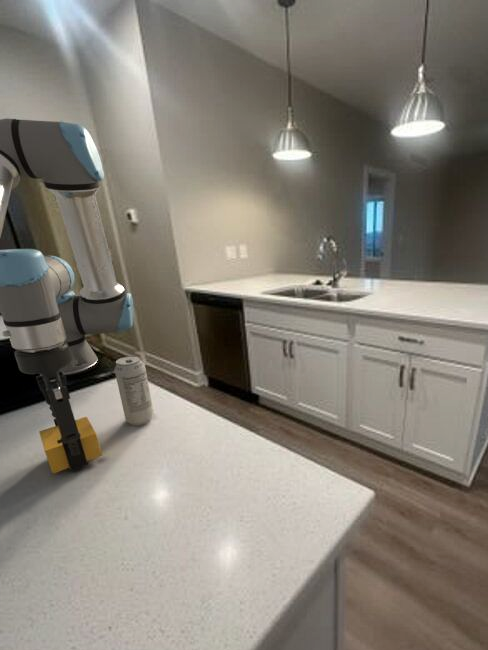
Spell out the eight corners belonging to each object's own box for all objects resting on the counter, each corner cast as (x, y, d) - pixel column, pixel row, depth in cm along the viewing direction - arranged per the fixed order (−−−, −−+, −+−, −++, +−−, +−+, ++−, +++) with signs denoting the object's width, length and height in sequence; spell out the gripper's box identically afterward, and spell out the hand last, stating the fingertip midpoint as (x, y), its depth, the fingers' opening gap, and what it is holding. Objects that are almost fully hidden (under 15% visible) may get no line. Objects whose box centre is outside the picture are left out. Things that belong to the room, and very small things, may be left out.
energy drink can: (150, 410, 84) (139, 353, 78) (157, 421, 79) (146, 361, 74) (123, 418, 80) (110, 359, 75) (129, 430, 76) (115, 367, 70)
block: (46, 452, 67) (39, 431, 65) (92, 437, 72) (86, 416, 70) (52, 474, 61) (44, 450, 60) (102, 455, 66) (96, 433, 64)
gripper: (9, 335, 63) (44, 438, 72) (18, 369, 49) (60, 494, 57) (57, 327, 68) (84, 425, 76) (78, 357, 53) (109, 474, 62)
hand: (74, 455), depth 67 cm, fingers closed on block, 8 cm apart
